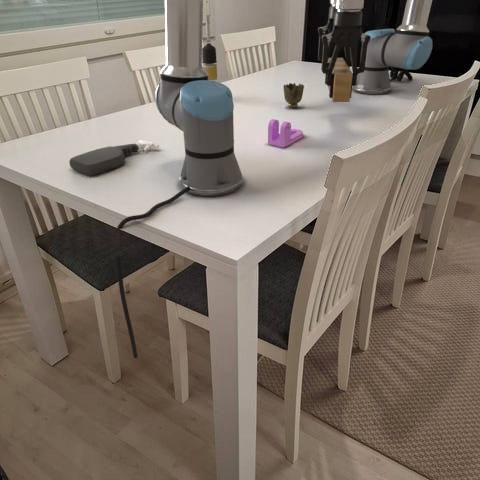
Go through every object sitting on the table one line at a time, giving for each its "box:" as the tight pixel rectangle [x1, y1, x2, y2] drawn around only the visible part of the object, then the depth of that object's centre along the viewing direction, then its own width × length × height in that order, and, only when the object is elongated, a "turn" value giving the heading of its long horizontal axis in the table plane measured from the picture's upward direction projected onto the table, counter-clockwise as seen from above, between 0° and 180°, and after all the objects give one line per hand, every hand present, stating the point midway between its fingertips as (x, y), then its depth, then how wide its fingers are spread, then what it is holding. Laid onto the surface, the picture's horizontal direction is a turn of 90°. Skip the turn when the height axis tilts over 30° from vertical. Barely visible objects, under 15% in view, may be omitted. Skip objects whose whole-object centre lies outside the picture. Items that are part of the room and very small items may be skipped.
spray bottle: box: [68, 139, 160, 177], centre depth 124 cm, size 3×11×24 cm
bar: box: [327, 57, 353, 103], centre depth 140 cm, size 25×5×8 cm, turn 175°
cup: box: [283, 82, 305, 109], centre depth 164 cm, size 8×7×8 cm
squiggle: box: [389, 66, 414, 83], centre depth 198 cm, size 11×10×15 cm
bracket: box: [267, 118, 304, 148], centre depth 134 cm, size 13×6×7 cm, turn 143°
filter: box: [202, 14, 218, 82], centre depth 171 cm, size 6×6×30 cm
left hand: (339, 96), depth 134 cm, fingers closed on bar, 5 cm apart
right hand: (334, 83), depth 149 cm, fingers closed on bar, 5 cm apart
